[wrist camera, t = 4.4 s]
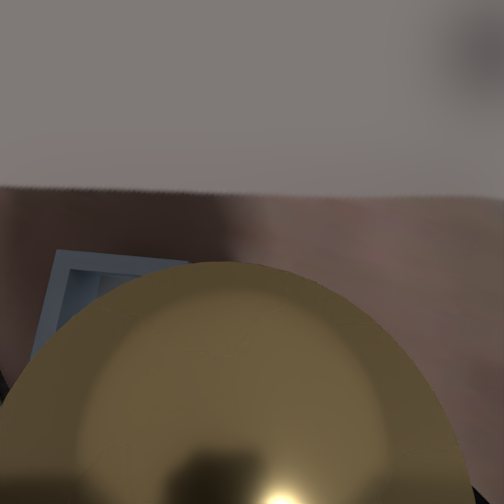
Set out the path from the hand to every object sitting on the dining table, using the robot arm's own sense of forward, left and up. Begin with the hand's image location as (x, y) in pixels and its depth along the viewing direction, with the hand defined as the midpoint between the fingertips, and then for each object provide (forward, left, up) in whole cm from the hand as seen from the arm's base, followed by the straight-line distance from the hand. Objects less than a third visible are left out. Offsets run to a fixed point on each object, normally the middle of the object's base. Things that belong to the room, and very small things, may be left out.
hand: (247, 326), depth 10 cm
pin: (-1, -1, -7) cm, 7 cm away
